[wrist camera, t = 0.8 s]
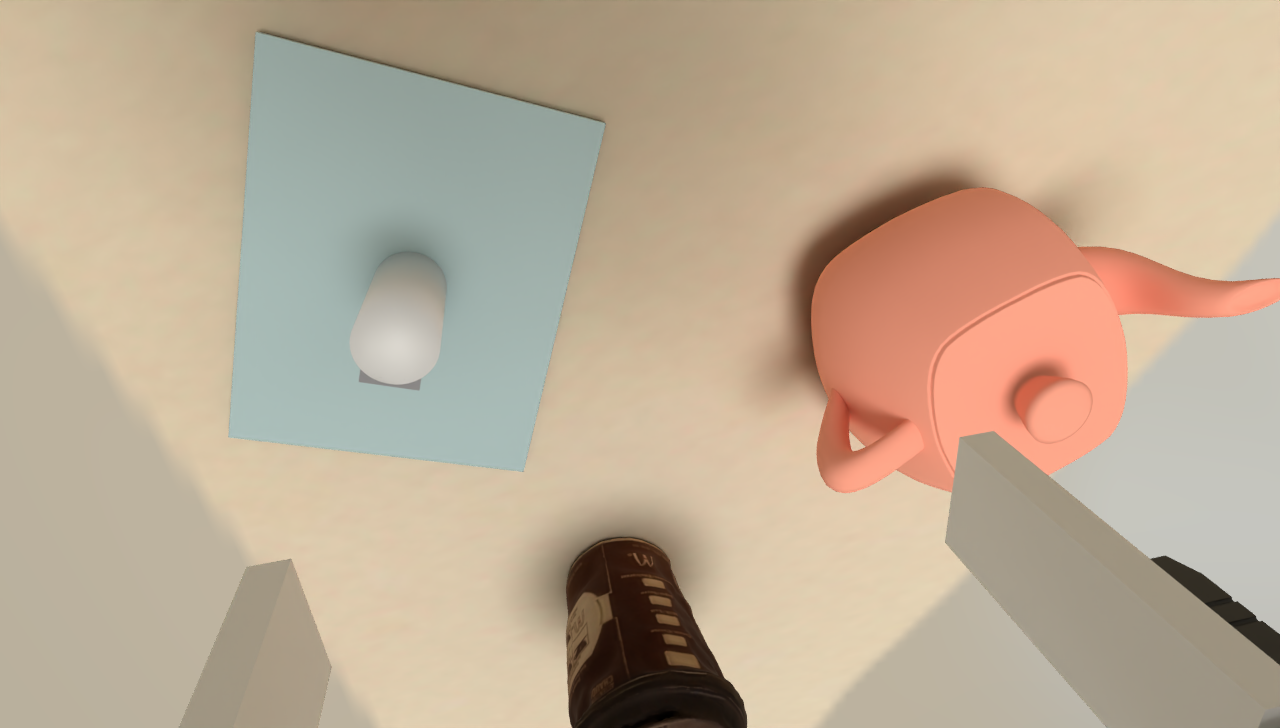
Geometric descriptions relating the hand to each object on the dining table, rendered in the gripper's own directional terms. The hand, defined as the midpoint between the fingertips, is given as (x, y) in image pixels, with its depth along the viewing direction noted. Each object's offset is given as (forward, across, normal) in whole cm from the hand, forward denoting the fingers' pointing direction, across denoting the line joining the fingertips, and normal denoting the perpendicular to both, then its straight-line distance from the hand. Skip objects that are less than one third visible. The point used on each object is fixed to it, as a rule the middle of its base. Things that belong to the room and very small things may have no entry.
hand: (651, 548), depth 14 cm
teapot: (+23, +19, -6) cm, 30 cm away
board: (+22, -7, -1) cm, 23 cm away
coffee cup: (+22, +1, -21) cm, 31 cm away
